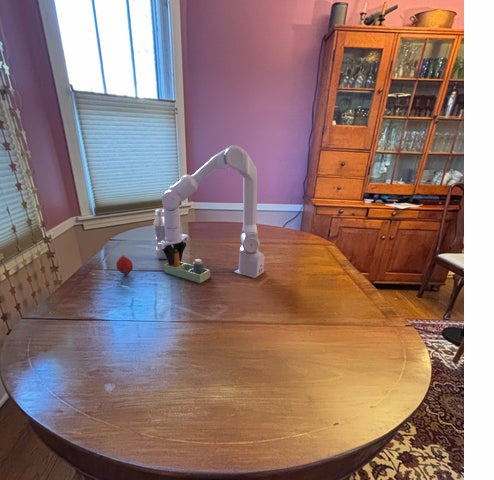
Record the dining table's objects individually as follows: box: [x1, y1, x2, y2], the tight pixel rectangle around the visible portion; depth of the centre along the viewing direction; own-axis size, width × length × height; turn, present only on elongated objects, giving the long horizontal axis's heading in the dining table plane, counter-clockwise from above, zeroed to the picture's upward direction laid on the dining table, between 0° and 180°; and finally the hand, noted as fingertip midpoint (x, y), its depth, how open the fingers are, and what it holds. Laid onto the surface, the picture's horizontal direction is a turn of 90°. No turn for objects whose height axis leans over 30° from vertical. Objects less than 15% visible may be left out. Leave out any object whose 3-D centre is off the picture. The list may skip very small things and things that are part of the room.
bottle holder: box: [163, 261, 211, 284], centre depth 112 cm, size 17×6×4 cm, turn 57°
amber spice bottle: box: [170, 249, 180, 267], centre depth 113 cm, size 4×4×7 cm
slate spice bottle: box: [192, 258, 204, 275], centre depth 109 cm, size 4×4×7 cm
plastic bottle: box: [153, 208, 167, 260], centre depth 124 cm, size 6×7×20 cm
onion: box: [115, 254, 134, 276], centre depth 111 cm, size 6×6×8 cm
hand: (175, 262), depth 114 cm, fingers closed on amber spice bottle, 3 cm apart
